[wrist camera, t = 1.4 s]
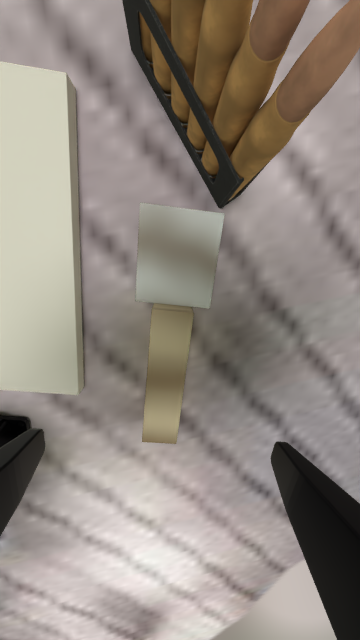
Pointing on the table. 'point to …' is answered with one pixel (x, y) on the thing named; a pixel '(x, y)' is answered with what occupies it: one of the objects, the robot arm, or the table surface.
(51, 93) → the board
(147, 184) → the table surface
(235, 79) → the ammunition clip
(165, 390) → the turner
